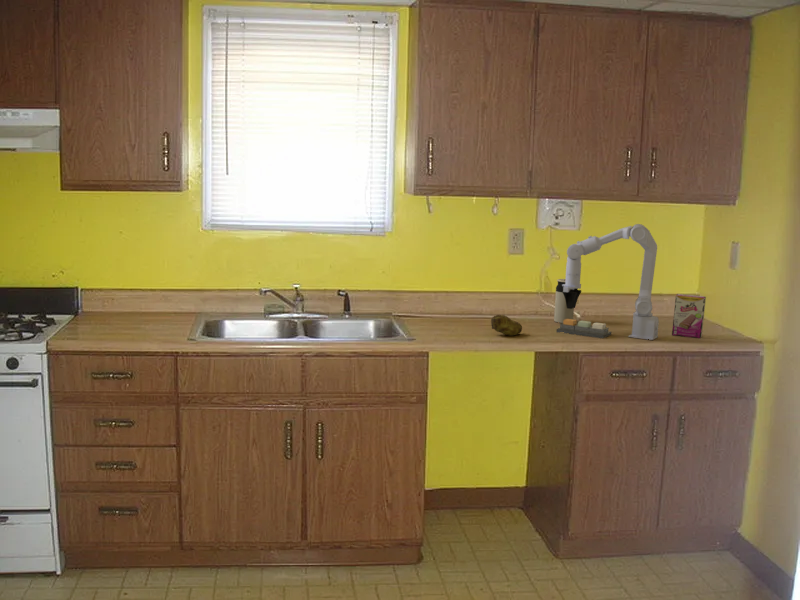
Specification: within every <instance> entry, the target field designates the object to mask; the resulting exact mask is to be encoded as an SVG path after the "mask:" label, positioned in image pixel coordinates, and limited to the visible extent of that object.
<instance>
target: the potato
mask: <svg viewBox="0 0 800 600" xmlns="http://www.w3.org/2000/svg"><path fill="white" fill-rule="evenodd" d="M490 324H491V329H492V330H494V331H495V332H497V333H501V334H503V335H505V336H516V335H519V334H521V333H522V330H523V326H522V324H521V323H519V322H518V321H515V320H513V319H511V318H509V317H508V316H507V315H504V314H495V315H493V316H492V317H491V319H490Z"/></svg>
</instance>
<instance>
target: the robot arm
mask: <svg viewBox="0 0 800 600" xmlns="http://www.w3.org/2000/svg"><path fill="white" fill-rule="evenodd" d="M620 239H623V240H624V239H625V240H630V239H632V241H634V242H635V243H637V244H638V245H640V246H641V247H642V248H643V250H644V254H643V262H642V269H641V277H640V285H639V291H638V292H639V293H638V297H637V299H636V300H635V302H634V306H635V307H634V308H635V311H633V313H632V325H631V326H632V327H631V328H632V329H631V333H630V334H629V335H628V336H627V337H628V338H635V339H642V340H648V339H649V340H650V341H653V340H655V339H657V338H659V335H658V332H659V324H660V322H659V317H658V316H655V315H653V313H652V311H653V303H652V291H653V284H654V283H653V282H654V277H655V268H656V261H657V252H658V244H657V242H656V240H655V239H654V237H653V235H652V233H651V232H650V230H649V229H648V228H647V227H646V226H645V225H643V224H640V223H635V224H634V225H628V226H625V227H622V228H619V229H616V230H614V231H612V232H610V233H607V234H605V235H602V236H600V237H598V236H596V235H594V236H592V235H589V236H588V238H586V239H584V240H581V241H580V240H578V241H576V243H572V244H570V245H569V246H568V247H567V250H566V255H567V258H566V264H565V266H566V268H565V279H566V280H565V284H563V285H562V286H564V287H563V294H564V297H565V300H566V306H567V308H568V309H572V308H574V309H576V306H577V304H578V303H577V301H578V300H579V297H580V295H581V294H582V289H581V288H582V283H581V274H582V273H581V272H582V262H581V261H582V257H581V256H586V255H590V254H592V253H596V252H598V251H600V250H601V248H602V246H604V245H606V244H609V243H613V242H615V241H618V240H620Z"/></svg>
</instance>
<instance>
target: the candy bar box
mask: <svg viewBox="0 0 800 600" xmlns="http://www.w3.org/2000/svg"><path fill="white" fill-rule="evenodd" d="M706 300H707V296H703V295H695V294H684V293H676V295H675V302H674V312H673V321H672V332H671V335H672V336H675V337H676V336H677V337H684V338H685V337H686V338H694V339H701V338H702V337H703V329H704V321H705V320H704V319H705V318H704V317H705V310H706V309H705V308H706Z"/></svg>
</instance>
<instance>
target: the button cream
mask: <svg viewBox="0 0 800 600" xmlns="http://www.w3.org/2000/svg"><path fill="white" fill-rule="evenodd" d="M606 326H607V323H602V322H594V323H592V328H595V329H605V328H606Z"/></svg>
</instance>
